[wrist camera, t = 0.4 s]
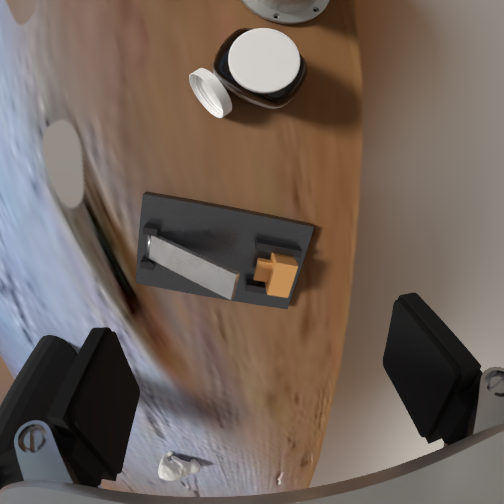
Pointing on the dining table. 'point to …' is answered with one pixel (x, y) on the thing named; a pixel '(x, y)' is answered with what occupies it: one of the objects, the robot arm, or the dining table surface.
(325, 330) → the dining table surface
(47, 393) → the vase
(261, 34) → the spread jar
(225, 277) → the strap
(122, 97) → the dining table surface
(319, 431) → the dining table surface
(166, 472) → the white rounded lump
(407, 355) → the robot arm
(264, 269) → the block
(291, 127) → the dining table surface
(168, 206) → the plate
